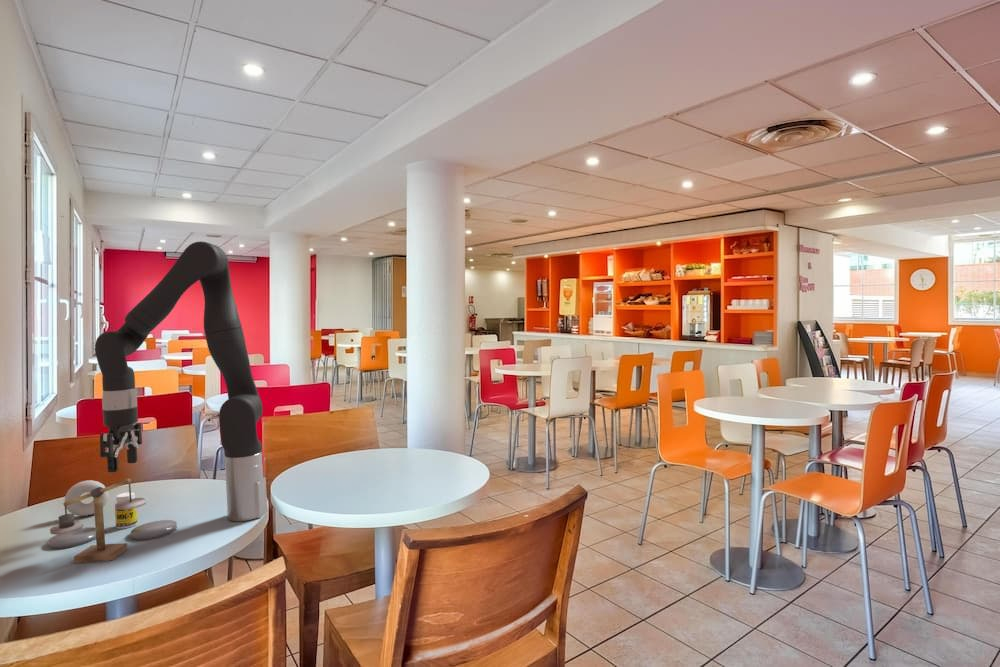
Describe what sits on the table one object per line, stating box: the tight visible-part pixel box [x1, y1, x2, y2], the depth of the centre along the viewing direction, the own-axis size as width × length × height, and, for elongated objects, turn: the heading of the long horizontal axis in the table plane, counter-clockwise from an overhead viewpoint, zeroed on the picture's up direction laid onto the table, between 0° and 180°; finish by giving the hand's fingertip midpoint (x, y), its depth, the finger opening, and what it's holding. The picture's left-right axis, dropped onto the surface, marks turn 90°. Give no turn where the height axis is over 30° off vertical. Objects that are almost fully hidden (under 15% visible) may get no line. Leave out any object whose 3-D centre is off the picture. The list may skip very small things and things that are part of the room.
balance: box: [49, 478, 147, 564], centre depth 126 cm, size 20×6×18 cm, turn 95°
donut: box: [63, 479, 109, 517], centre depth 153 cm, size 10×4×10 cm, turn 120°
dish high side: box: [130, 519, 178, 541], centre depth 140 cm, size 10×10×1 cm
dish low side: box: [47, 527, 96, 550], centre depth 136 cm, size 10×10×1 cm
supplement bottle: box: [114, 491, 138, 530], centre depth 145 cm, size 5×5×8 cm
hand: (123, 467), depth 145 cm, fingers open, 8 cm apart
